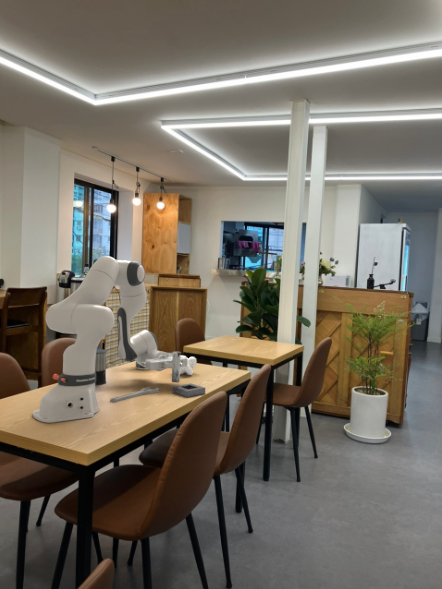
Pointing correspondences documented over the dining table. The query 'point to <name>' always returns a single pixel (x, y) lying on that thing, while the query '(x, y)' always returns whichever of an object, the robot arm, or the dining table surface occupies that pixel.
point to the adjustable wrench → (135, 394)
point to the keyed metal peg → (176, 366)
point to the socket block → (188, 390)
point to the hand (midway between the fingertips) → (177, 365)
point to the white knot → (188, 366)
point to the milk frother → (100, 366)
